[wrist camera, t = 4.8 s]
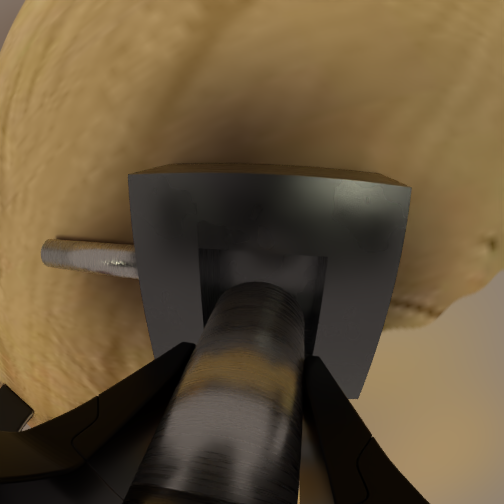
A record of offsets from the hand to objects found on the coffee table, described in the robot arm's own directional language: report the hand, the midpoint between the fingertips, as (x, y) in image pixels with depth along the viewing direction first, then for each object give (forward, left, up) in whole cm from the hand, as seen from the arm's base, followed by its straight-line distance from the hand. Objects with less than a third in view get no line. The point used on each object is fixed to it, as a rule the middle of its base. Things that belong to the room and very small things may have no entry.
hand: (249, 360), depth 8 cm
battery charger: (+37, +27, -7) cm, 46 cm away
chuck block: (+5, 0, -7) cm, 8 cm away
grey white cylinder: (0, 0, -2) cm, 2 cm away
